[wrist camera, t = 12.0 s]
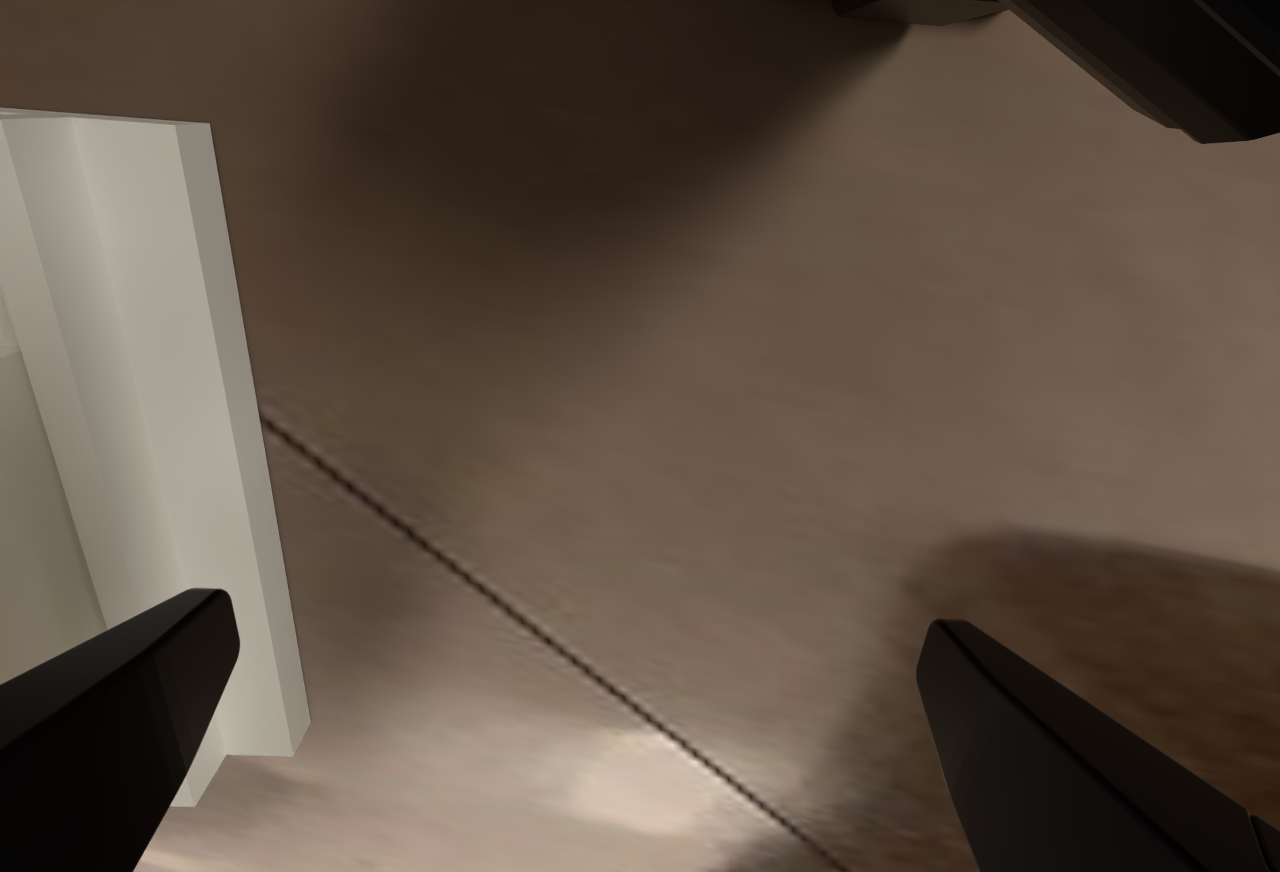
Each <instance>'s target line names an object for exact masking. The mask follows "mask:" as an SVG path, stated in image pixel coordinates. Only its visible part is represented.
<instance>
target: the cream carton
mask: <svg viewBox="0 0 1280 872" xmlns="http://www.w3.org/2000/svg"><path fill="white" fill-rule="evenodd" d="M105 631H107V626H106V623H105V620H104V617H103V613H102V610H101V607H100V604H99V601H98V597H97V594H96V591H95V588H94V584H93V581H92V578H91V575H90V572H89V568H88V565H87V562H86V559H85V555H84V552H83V549H82V546H81V543H80V539H79V536H78V533H77V530H76V526H75V523H74V520H73V517H72V514H71V510H70V507H69V504H68V501H67V497H66V494H65V491H64V488H63V485H62V481H61V478H60V475H59V472H58V468H57V465H56V462H55V459H54V456H53V452H52V449H51V446H50V443H49V439H48V436H47V433H46V430H45V426H44V423H43V420H42V417H41V414H40V410H39V407H38V404H37V401H36V397H35V394H34V391H33V388H32V385H31V381H30V378H29V375H28V372H27V368H26V365H25V362H24V359H23V356H22V352H21V349H20V346H9V345H0V684H2V683H4V682H6V681H8V680H10V679H12V678H14V677H16V676H18V675H20V674H22V673H24V672H26V671H28V670H30V669H32V668H34V667H36V666H38V665H40V664H42V663H44V662H46V661H48V660H50V659H52V658H54V657H56V656H58V655H59V654H61V653H63V652H65V651H67V650H69V649H71V648H73V647H75V646H77V645H79V644H81V643H83V642H85V641H87V640H89V639H91V638H93V637H95V636H97V635H99V634H101V633H103V632H105Z"/></svg>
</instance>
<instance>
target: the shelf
mask: <svg viewBox="0 0 1280 872" xmlns="http://www.w3.org/2000/svg"><path fill="white" fill-rule="evenodd" d="M0 345H9V346H20V349H21V352H22V356H23V359H24V362H25V365H26V368H27V372H28V375H29V378H30V381H31V385H32V388H33V391H34V394H35V397H36V401H37V404H38V407H39V410H40V414H41V417H42V420H43V423H44V426H45V430H46V433H47V436H48V439H49V443H50V446H51V449H52V452H53V456H54V459H55V462H56V465H57V468H58V472H59V475H60V478H61V481H62V485H63V488H64V491H65V494H66V497H67V501H68V504H69V507H70V510H71V514H72V517H73V520H74V523H75V526H76V530H77V533H78V536H79V539H80V543H81V546H82V549H83V552H84V555H85V559H86V562H87V565H88V568H89V572H90V575H91V578H92V581H93V584H94V588H95V591H96V594H97V597H98V601H99V604H100V607H101V610H102V613H103V617H104V620H105V623H106V626H107V630H109V629H111V628H113V627H115V626H117V625H118V624H120V623H122V622H124V621H126V620H128V619H130V618H132V617H134V616H136V615H138V614H140V613H142V612H144V611H146V610H148V609H150V608H152V607H154V606H156V605H158V604H160V603H162V602H164V601H166V600H168V599H170V598H172V597H174V596H176V595H177V594H179V593H181V592H183V591H185V590H188V589H191V588H215V589H223V590H225V591H227V592H228V594H229V595H230V597H231V600H232V604H233V609H234V614H235V619H236V623H237V628H238V633H239V637H240V651H239V656H238V659H237V662H236V664H235V667H234V669H233V671H232V674H231V676H230V678H229V680H228V683H227V685H226V687H225V690H224V692H223V694H222V697H221V699H220V701H219V703H218V706H217V708H216V710H215V713H214V715H213V717H212V720H211V722H210V724H209V727H208V729H207V731H206V733H205V736H204V738H203V740H202V743H201V745H200V747H199V750H198V752H197V754H196V756H195V759H194V761H193V763H192V765H191V767H190V769H189V771H188V773H187V775H186V777H185V779H184V781H183V783H182V785H181V787H180V789H179V790H178V792H177V794H176V796H175V798H174V800H173V801H172V803H171V805H170V806H176V807H195V806H196V804H197V803H198V801H199V799H200V798H201V796H202V794H203V793H204V791H205V789H206V788H207V786H208V784H209V783H210V781H211V779H212V778H213V776H214V775H215V773H216V771H217V770H218V768H219V766H220V765H221V763H222V761H223V760H224V758H225V756H226V755H253V756H285V757H294V755H295V753H296V751H297V749H298V747H299V745H300V743H301V741H302V739H303V737H304V735H305V733H306V731H307V729H308V727H309V725H310V723H311V720H310V715H309V709H308V703H307V697H306V691H305V685H304V679H303V673H302V667H301V661H300V655H299V650H298V644H297V638H296V632H295V626H294V620H293V614H292V608H291V602H290V596H289V590H288V584H287V579H286V573H285V567H284V561H283V555H282V549H281V543H280V537H279V531H278V525H277V519H276V513H275V508H274V502H273V496H272V490H271V484H270V478H269V472H268V466H267V460H266V454H265V448H264V442H263V437H262V431H261V425H260V419H259V413H258V407H257V401H256V395H255V389H254V383H253V377H252V371H251V366H250V360H249V354H248V348H247V342H246V336H245V330H244V324H243V318H242V312H241V306H240V300H239V295H238V289H237V283H236V277H235V271H234V265H233V259H232V253H231V247H230V241H229V235H228V229H227V224H226V218H225V212H224V206H223V200H222V194H221V188H220V182H219V176H218V170H217V164H216V158H215V153H214V147H213V141H212V135H211V129H210V123H197V122H184V121H171V120H157V119H144V118H131V117H117V116H104V115H91V114H78V113H64V112H51V111H38V110H25V109H11V108H0Z"/></svg>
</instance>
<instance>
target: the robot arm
mask: <svg viewBox="0 0 1280 872" xmlns="http://www.w3.org/2000/svg"><path fill="white" fill-rule="evenodd" d="M831 7H832V8H833V10H834V11H835V13H836V14H837V15H838V17H842V18H853V19H865V20H876V21H888V22H899V23H911V24H922V25H934V26H943V25H947V24H951V23H956V22H960V21H964V20H968V19H972V18H976V17H980V16H984V15H988V14H992V13H997V12H1001V11H1005V10H1011V11H1012V12H1013V13H1014V14H1016V15H1017V16H1018V17H1019V18H1020V19H1022V20H1023V21H1024V22H1025V23H1027V24H1028V25H1029V26H1030V27H1032V28H1033V29H1034V30H1035V31H1037V32H1038V33H1039V34H1040V35H1042V36H1043V37H1044V38H1045V39H1046V40H1048V41H1049V42H1050V43H1051V44H1053V45H1054V46H1055V47H1056V48H1058V49H1059V50H1060V51H1061V52H1063V53H1064V54H1065V55H1066V56H1068V57H1069V58H1070V59H1071V60H1073V61H1074V62H1075V63H1076V64H1077V65H1079V66H1080V67H1081V68H1082V69H1084V70H1085V71H1086V72H1087V73H1089V74H1090V75H1091V76H1092V77H1094V78H1095V79H1096V80H1097V81H1099V82H1100V83H1101V84H1102V85H1103V86H1105V87H1106V88H1107V89H1108V90H1110V91H1111V92H1112V93H1113V94H1115V95H1116V96H1117V97H1118V98H1120V99H1121V100H1122V101H1123V102H1125V103H1126V104H1127V105H1128V106H1130V107H1131V108H1132V109H1133V110H1135V111H1137V112H1139V113H1141V114H1143V115H1144V116H1146V117H1148V118H1150V119H1152V120H1154V121H1156V122H1157V123H1159V124H1161V125H1163V126H1165V127H1167V128H1176V129H1181V130H1182V131H1183V132H1184V133H1186V134H1187V135H1188V136H1189V137H1191V138H1192V139H1193V140H1194V141H1196V142H1199V143H1201V144H1207V143H1222V142H1236V141H1249V140H1255V139H1258V138H1262V137H1265V136H1269V135H1273V134H1276V133H1280V0H832V5H831ZM239 651H240V637H239V633H238V628H237V623H236V619H235V614H234V609H233V604H232V600H231V597H230V595H229V594H228V592H227V591H225V590H223V589H215V588H191V589H188V590H185V591H183V592H181V593H179V594H177V595H176V596H174V597H172V598H170V599H168V600H166V601H164V602H162V603H160V604H158V605H156V606H154V607H152V608H150V609H148V610H146V611H144V612H142V613H140V614H138V615H136V616H134V617H132V618H130V619H128V620H126V621H124V622H122V623H120V624H118V625H117V626H115V627H113V628H111V629H109V630H107V631H105V632H103V633H101V634H99V635H97V636H95V637H93V638H91V639H89V640H87V641H85V642H83V643H81V644H79V645H77V646H75V647H73V648H71V649H69V650H67V651H65V652H63V653H61V654H59V655H58V656H56V657H54V658H52V659H50V660H48V661H46V662H44V663H42V664H40V665H38V666H36V667H34V668H32V669H30V670H28V671H26V672H24V673H22V674H20V675H18V676H16V677H14V678H12V679H10V680H8V681H6V682H4V683H2V684H0V872H133V871H134V869H135V867H136V865H137V864H138V862H139V860H140V858H141V856H142V855H143V853H144V851H145V849H146V848H147V846H148V844H149V842H150V840H151V839H152V837H153V835H154V833H155V832H156V830H157V828H158V826H159V824H160V823H161V821H162V819H163V817H164V816H165V814H166V812H167V810H168V808H169V807H170V805H171V803H172V801H173V800H174V798H175V796H176V794H177V792H178V790H179V789H180V787H181V785H182V783H183V781H184V779H185V777H186V775H187V773H188V771H189V769H190V767H191V765H192V763H193V761H194V759H195V756H196V754H197V752H198V750H199V747H200V745H201V743H202V740H203V738H204V736H205V733H206V731H207V729H208V727H209V724H210V722H211V720H212V717H213V715H214V713H215V710H216V708H217V706H218V703H219V701H220V699H221V697H222V694H223V692H224V690H225V687H226V685H227V683H228V680H229V678H230V676H231V674H232V671H233V669H234V667H235V664H236V662H237V659H238V656H239ZM916 680H917V685H918V689H919V693H920V696H921V700H922V703H923V707H924V710H925V714H926V717H927V720H928V724H929V727H930V731H931V734H932V738H933V741H934V745H935V748H936V752H937V755H938V759H939V762H940V766H941V769H942V772H943V776H944V779H945V782H946V785H947V789H948V792H949V795H950V798H951V800H952V803H953V806H954V808H955V811H956V813H957V816H958V819H959V821H960V823H961V826H962V828H963V831H964V833H965V836H966V838H967V841H968V843H969V846H970V848H971V851H972V853H973V856H974V858H975V861H976V863H977V865H978V868H979V870H980V872H1280V831H1279V830H1278V829H1276V828H1275V827H1273V826H1272V825H1271V824H1269V823H1268V822H1266V821H1265V820H1263V819H1262V818H1260V817H1259V816H1257V815H1250V814H1249V811H1248V810H1247V809H1246V808H1245V807H1244V806H1242V805H1241V804H1239V803H1238V802H1236V801H1235V800H1233V799H1232V798H1230V797H1229V796H1227V795H1226V794H1224V793H1223V792H1221V791H1220V790H1218V789H1217V788H1215V787H1214V786H1212V785H1211V784H1209V783H1208V782H1206V781H1205V780H1203V779H1202V778H1200V777H1199V776H1197V775H1196V774H1194V773H1193V772H1191V771H1190V770H1188V769H1187V768H1185V767H1184V766H1182V765H1181V764H1180V763H1178V762H1177V761H1175V760H1174V759H1172V758H1171V757H1169V756H1168V755H1166V754H1165V753H1163V752H1162V751H1160V750H1159V749H1157V748H1156V747H1154V746H1153V745H1151V744H1150V743H1148V742H1147V741H1145V740H1144V739H1142V738H1141V737H1139V736H1138V735H1136V734H1135V733H1133V732H1132V731H1130V730H1129V729H1127V728H1126V727H1124V726H1123V725H1121V724H1120V723H1118V722H1117V721H1115V720H1114V719H1113V718H1111V717H1110V716H1108V715H1107V714H1105V713H1104V712H1102V711H1101V710H1099V709H1098V708H1096V707H1095V706H1093V705H1092V704H1090V703H1089V702H1087V701H1086V700H1084V699H1083V698H1081V697H1080V696H1078V695H1077V694H1075V693H1074V692H1072V691H1071V690H1069V689H1068V688H1066V687H1065V686H1063V685H1062V684H1060V683H1059V682H1057V681H1056V680H1054V679H1053V678H1051V677H1050V676H1048V675H1047V674H1046V673H1044V672H1043V671H1041V670H1040V669H1038V668H1037V667H1035V666H1034V665H1032V664H1031V663H1029V662H1028V661H1026V660H1025V659H1023V658H1022V657H1020V656H1019V655H1017V654H1016V653H1014V652H1013V651H1011V650H1010V649H1008V648H1007V647H1005V646H1004V645H1002V644H1001V643H999V642H998V641H996V640H995V639H993V638H992V637H990V636H989V635H987V634H986V633H984V632H983V631H981V630H980V629H979V628H977V627H976V626H974V625H973V624H971V623H969V622H968V621H965V620H960V619H936V620H934V621H932V623H931V624H930V626H929V628H928V631H927V634H926V637H925V641H924V644H923V647H922V650H921V654H920V657H919V660H918V664H917V669H916Z"/></svg>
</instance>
